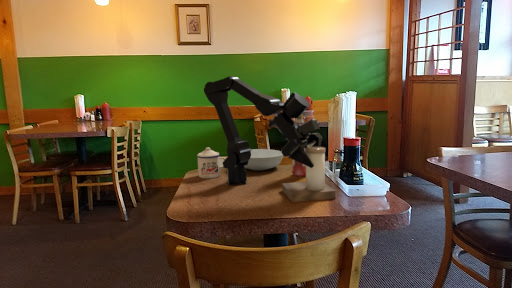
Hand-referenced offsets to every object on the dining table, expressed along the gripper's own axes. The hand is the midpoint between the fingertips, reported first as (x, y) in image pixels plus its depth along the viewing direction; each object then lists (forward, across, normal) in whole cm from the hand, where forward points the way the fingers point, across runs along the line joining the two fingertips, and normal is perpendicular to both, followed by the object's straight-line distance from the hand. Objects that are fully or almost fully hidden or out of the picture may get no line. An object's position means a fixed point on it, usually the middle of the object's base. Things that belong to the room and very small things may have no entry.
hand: (319, 164), depth 117 cm
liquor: (-5, +21, +21) cm, 30 cm away
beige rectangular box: (+4, 0, +10) cm, 11 cm away
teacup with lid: (-27, +4, +43) cm, 51 cm away
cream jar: (+5, 0, +7) cm, 8 cm away
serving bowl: (-21, +25, +36) cm, 49 cm away
